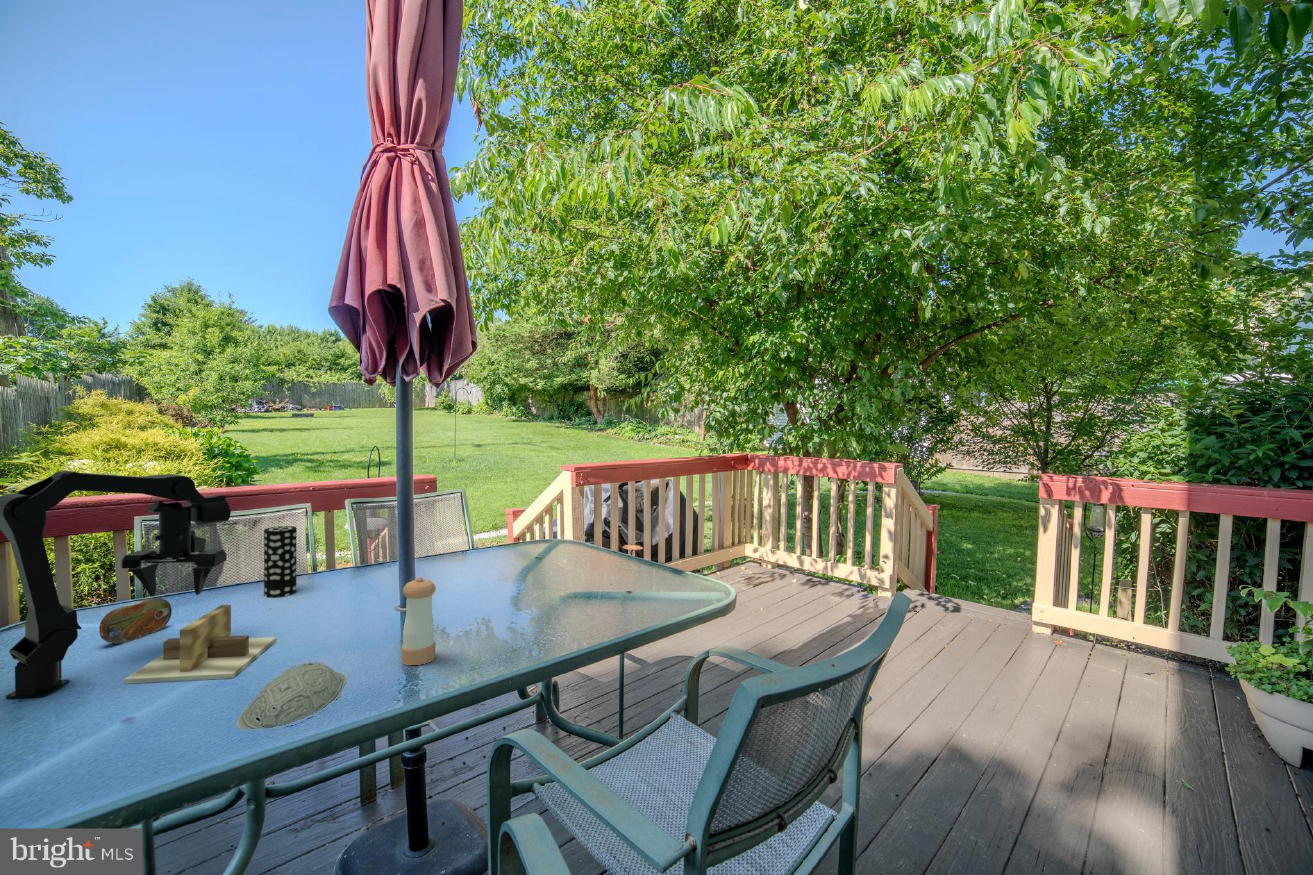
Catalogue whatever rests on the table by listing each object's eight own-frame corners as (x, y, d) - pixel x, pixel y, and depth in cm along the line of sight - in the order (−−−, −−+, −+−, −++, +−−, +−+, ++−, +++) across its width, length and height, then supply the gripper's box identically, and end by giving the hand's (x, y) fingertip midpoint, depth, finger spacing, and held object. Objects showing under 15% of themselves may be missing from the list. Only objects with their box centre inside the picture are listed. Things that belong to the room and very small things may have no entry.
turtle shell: (213, 734, 101) (219, 695, 101) (287, 676, 126) (291, 645, 126) (307, 740, 103) (312, 702, 103) (361, 681, 128) (365, 651, 128)
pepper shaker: (402, 654, 136) (403, 574, 135) (435, 651, 138) (436, 572, 138) (400, 667, 129) (401, 583, 128) (435, 663, 132) (436, 580, 131)
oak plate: (190, 671, 122) (190, 629, 122) (179, 671, 122) (179, 630, 122) (230, 641, 138) (230, 604, 138) (221, 642, 138) (221, 604, 137)
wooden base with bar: (233, 678, 122) (233, 654, 122) (123, 683, 118) (123, 659, 118) (276, 640, 142) (276, 620, 141) (183, 644, 138) (183, 624, 138)
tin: (107, 649, 134) (106, 613, 134) (96, 647, 135) (96, 612, 135) (173, 626, 149) (172, 594, 149) (163, 625, 150) (162, 593, 149)
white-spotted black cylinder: (301, 592, 178) (301, 528, 178) (272, 599, 171) (272, 532, 170) (288, 587, 183) (288, 524, 182) (258, 594, 176) (258, 529, 175)
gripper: (238, 521, 143) (238, 583, 144) (152, 522, 140) (152, 585, 140) (213, 531, 132) (213, 598, 133) (119, 531, 129) (119, 600, 130)
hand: (175, 595), depth 134 cm, fingers open, 9 cm apart
